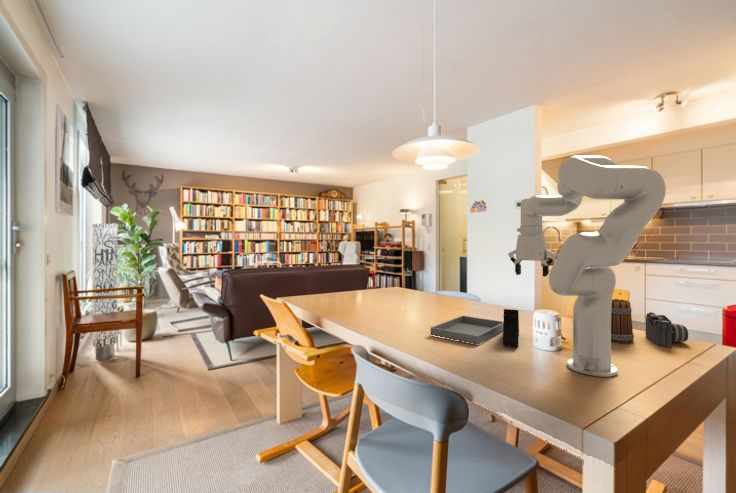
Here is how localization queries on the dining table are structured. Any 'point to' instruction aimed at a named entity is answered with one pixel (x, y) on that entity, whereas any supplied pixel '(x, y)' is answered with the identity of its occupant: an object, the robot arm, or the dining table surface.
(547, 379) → the dining table surface
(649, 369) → the dining table surface
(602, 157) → the robot arm
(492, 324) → the tray
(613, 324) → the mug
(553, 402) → the dining table surface
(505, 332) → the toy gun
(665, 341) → the camera
